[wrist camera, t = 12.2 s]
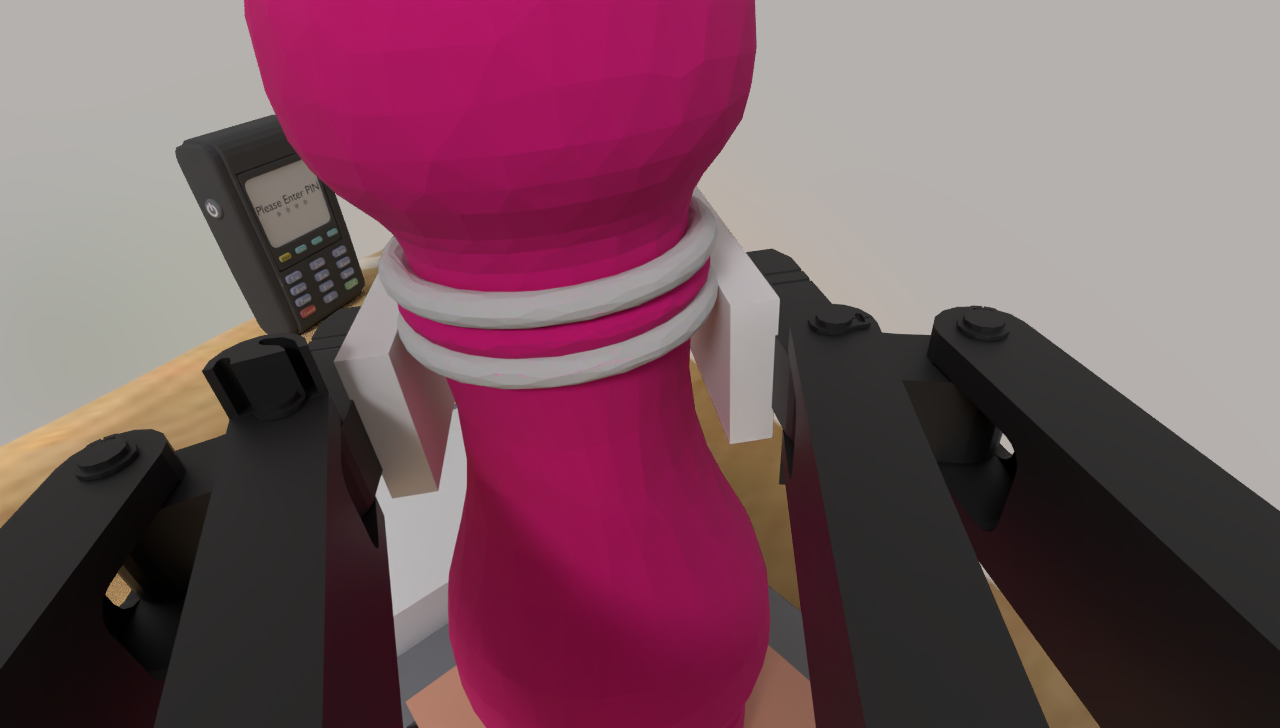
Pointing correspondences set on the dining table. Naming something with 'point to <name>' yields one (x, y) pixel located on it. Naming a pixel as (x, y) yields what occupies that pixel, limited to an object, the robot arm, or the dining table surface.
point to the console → (438, 658)
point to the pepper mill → (554, 324)
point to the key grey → (424, 546)
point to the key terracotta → (772, 711)
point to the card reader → (273, 224)
